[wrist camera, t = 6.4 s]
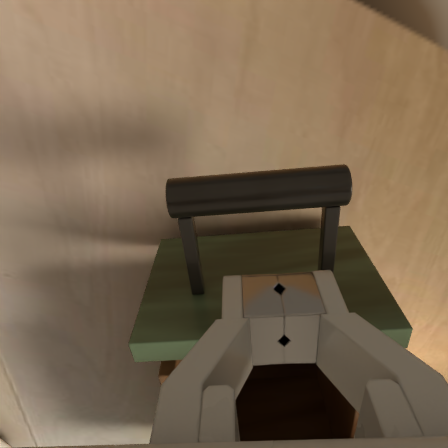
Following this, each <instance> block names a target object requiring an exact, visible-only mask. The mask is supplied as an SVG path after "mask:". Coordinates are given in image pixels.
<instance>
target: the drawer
mask: <svg viewBox="0 0 448 448" xmlns="http://www.w3.org/2000/svg"><path fill="white" fill-rule="evenodd" d="M351 196H352V178H351V173H350V170H349V168H348V166H347V165H331V166H319V167H307V168H295V169H282V170H270V171H258V172H246V173H234V174H221V175H209V176H197V177H185V178H172V179H168V180H167V183H166V203H167V208H168V212H169V215H170V217H171V218H178V223H179V229H180V234H181V238H172V239H161V241H160V245H159V248H158V251H157V254H156V257H155V261H154V264H153V267H152V270H151V273H150V277H149V280H148V283H147V286H146V289H145V292H144V296H143V299H142V302H141V305H140V308H139V312H138V315H137V318H136V321H135V324H134V328H133V331H132V334H131V337H130V340H129V347H130V350H131V353H132V356H133V358H134V361H135V362H149V361H161V364H160V369H159V374H158V378H159V381H160V384H161V385H162V383H163V382H164V381H165V380H166V379H167V378H168V376H169V375H170V374H171V373H172V372H173V370H174V369H175V368H176V367H177V366H178V364H179V363H180V362H181V361H182V360H183V358H184V357H185V356H186V355H187V354H188V353H189V351H190V350H191V349H192V348H193V347H194V345H195V344H196V343H197V342H198V341H199V339H200V338H201V337H202V336H203V335H204V334H205V332H206V331H207V330H208V329H209V328H210V326H211V325H212V324H213V323H214V322H215V320H217V319H222V291H223V277H224V276H233V275H241V277H242V275H253V274H280V273H296V272H312V271H319V270H331V271H332V273H333V275H334V278H335V280H336V282H337V285H338V287H339V290H340V292H341V294H342V297H343V299H344V302H345V304H346V306H347V309H348V311H349V313H356V314H358V315H359V316H360V317H362V318H363V319H365V320H366V321H367V322H369V323H370V324H371V325H373V326H374V327H376V328H377V329H378V330H380V331H381V332H383V333H384V334H385V335H387V336H388V337H390V338H391V339H392V340H394V341H395V342H397V343H398V344H399V345H401V346H402V347H404V348H407V347H408V343H409V340H410V337H411V333H412V330H413V328H412V326H411V325H410V323H409V322H408V320H407V318H406V317H405V315H404V313H403V312H402V310H401V309H400V307H399V305H398V304H397V302H396V300H395V299H394V297H393V296H392V294H391V292H390V291H389V289H388V287H387V286H386V284H385V283H384V281H383V279H382V278H381V276H380V274H379V273H378V271H377V270H376V268H375V266H374V265H373V263H372V261H371V260H370V258H369V257H368V255H367V253H366V252H365V250H364V248H363V247H362V245H361V244H360V242H359V240H358V239H357V237H356V235H355V234H354V232H353V230H352V229H351V227H350V226H340V227H338V225H339V216H340V206H344V205H348V204H349V202H350V200H351ZM317 207H322V217H321V228H312V229H298V230H284V231H270V232H256V233H242V234H228V235H214V236H200V237H197V234H196V228H195V221H194V217H197V216H211V215H224V214H237V213H251V212H264V211H277V210H291V209H304V208H317ZM235 401H236V410H237V418H238V426H239V435H240V442H241V441H276V440H312V439H348V438H354V435H355V431H356V426H357V422H358V418H359V413H358V412H357V411H356V410H355V408H354V407H353V406H352V405H351V404H350V403H349V402H348V400H347V399H346V398H345V397H344V396H343V395H342V394H341V392H340V391H339V390H338V389H337V388H336V387H335V386H334V384H333V383H332V382H331V381H330V380H329V379H328V377H327V376H326V375H325V374H324V373H323V372H322V371H321V369H320V368H319V367H318V366H317V365H316V363H286V364H270V365H255V366H253V368H252V370H251V372H250V374H249V376H248V378H247V380H246V381H245V383H244V385H243V387H242V389H241V391H240V393H239V395H238V397H237V398H236V400H235Z"/></svg>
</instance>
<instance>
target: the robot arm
mask: <svg viewBox="0 0 448 448" xmlns="http://www.w3.org/2000/svg"><path fill="white" fill-rule="evenodd" d="M286 363H316V365H317V366H318V367H319V368H320V369H321V371H322V372H323V373H324V374H325V375H326V376H327V377H328V379H329V380H330V381H331V382H332V383H333V384H334V386H335V387H336V388H337V389H338V390H339V391H340V392H341V394H342V395H343V396H344V397H345V398H346V399H347V400H348V402H349V403H350V404H351V405H352V406H353V407H354V408H355V410H356V411H357V412H358V413H359V418H358V422H357V426H356V431H355V435H354V438H348V439H312V440H276V441H241V442H240V435H239V426H238V418H237V410H236V401H235V400H236V398H237V397H238V395H239V393H240V391H241V389H242V387H243V385H244V383H245V381H246V380H247V378H248V376H249V374H250V372H251V370H252V368H253V366H255V365H270V364H286ZM17 448H448V384H447V382H446V381H445V379H444V377H443V376H442V375H441V374H440V373H438V372H437V371H436V370H434V369H433V368H431V367H430V366H429V365H427V364H426V363H424V362H423V361H422V360H420V359H419V358H417V357H416V356H415V355H413V354H412V353H410V352H409V351H408V350H406V349H405V348H404V347H402V346H401V345H399V344H398V343H397V342H395V341H394V340H392V339H391V338H390V337H388V336H387V335H385V334H384V333H383V332H381V331H380V330H378V329H377V328H376V327H374V326H373V325H371V324H370V323H369V322H367V321H366V320H365V319H363V318H362V317H360V316H359V315H358V314H356V313H349V311H348V309H347V306H346V304H345V302H344V299H343V297H342V294H341V292H340V290H339V287H338V285H337V282H336V280H335V278H334V275H333V273H332V271H331V270H319V271H312V272H296V273H280V274H253V275H242V277H241V275H233V276H224V277H223V291H222V319H217V320H215V322H214V323H213V324H212V325H211V326H210V328H209V329H208V330H207V331H206V332H205V334H204V335H203V336H202V337H201V338H200V339H199V341H198V342H197V343H196V344H195V345H194V347H193V348H192V349H191V350H190V351H189V353H188V354H187V355H186V356H185V357H184V358H183V360H182V361H181V362H180V363H179V364H178V366H177V367H176V368H175V369H174V370H173V372H172V373H171V374H170V375H169V376H168V378H167V379H166V380H165V381H164V382H163V383H162V385H161V387H160V393H159V398H158V403H157V408H156V413H155V418H154V423H153V428H152V433H151V438H150V443H149V444H129V445H92V446H54V447H17Z"/></svg>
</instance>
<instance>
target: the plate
mask: <svg viewBox="0 0 448 448" xmlns="http://www.w3.org/2000/svg"><path fill="white" fill-rule="evenodd" d="M0 448H13V447H12V446H10V445H9V444H8V443H6V442H5V441H4V440H2V439H1V438H0Z"/></svg>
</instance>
